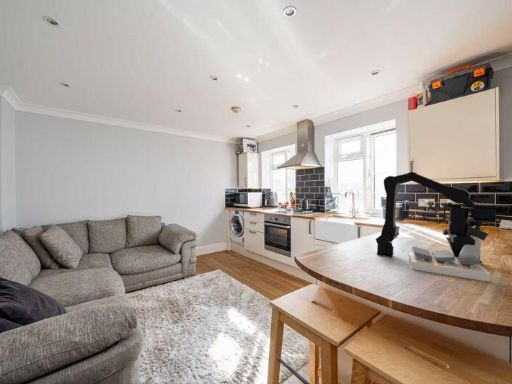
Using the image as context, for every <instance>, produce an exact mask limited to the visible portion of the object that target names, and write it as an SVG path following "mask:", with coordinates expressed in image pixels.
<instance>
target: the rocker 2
mask: <svg viewBox="0 0 512 384" xmlns="http://www.w3.org/2000/svg"><path fill="white" fill-rule="evenodd" d="M430 253H431V255H432V256H434V258H435V259H436V261H456V258H455V257H454V254H453V253H452V251H450V250H448V249H447V250H446V249H445V250H444V249H443V250H441V249H440V250H431V252H430Z"/></svg>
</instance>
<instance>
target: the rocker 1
mask: <svg viewBox="0 0 512 384" xmlns="http://www.w3.org/2000/svg"><path fill="white" fill-rule="evenodd" d="M411 250H412V253H414V255H416V256H419V257H423V258H426V259H430V260H432V258H433V257H432V256H433V255H432V252H430V251H429V250H428V249H425V248H422V247H417V246H413V245H412V248H411Z"/></svg>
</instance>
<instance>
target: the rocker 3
mask: <svg viewBox="0 0 512 384" xmlns="http://www.w3.org/2000/svg"><path fill="white" fill-rule="evenodd" d="M453 256H454V255H453ZM454 257H455V256H454ZM455 259H457V260H458V261H459V262H460V263H461V264H474V265H480V266H482V265H483V261H482V260H481V258H480V259H479V258H477V257H476V256H475V255H473V254H472V253H461V252H460V254H459V256H458V257H455Z"/></svg>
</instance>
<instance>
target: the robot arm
mask: <svg viewBox="0 0 512 384" xmlns="http://www.w3.org/2000/svg"><path fill="white" fill-rule="evenodd" d="M410 182H414V183H416V184H417V185H418V184H419V185H421V186H423V187H425V188H428V189H431V190H432V191H435V192H437V193H439V194H441V195H442V196H444V197H445V198H447V199H449V200H450V201H452V202H453V203H452V202H450V201H449V202H448V203H447V204H445V205H444V206H443V207H444V208H448V209H449V219H448V220H447V223H448V228H445V229H443V230H442V235H443V236H448V237H445V239H446V241H447V242H448V244H449V247H450V249H451V253H452V255H453V256H455V257H458V256H459V254H460V253H461V250H462V248H463V246H464V245H475V240H474V239H473V238H472V237H470V236H471V235H472V236H474V237H477V238H480V239H481V241H485V240H486V239H487V237H488V235H489V233H488V232H486V231H484V230H482V227H481V228H480V227H477V226H473V227H471V224H470V223H468V219H469V214H470V219H475V221H480V222H481V223H490V224H496V221H497V213H496V212H497V208H496V207H497V206H496V205H495V204H476V203H475V201H473V200H472V199H471V195H470V192H469V191H468V190H465V189H463V188H459V187H454V186H450V185H446V184H443V183H441V182H438V181H435V180H433V179H430V178H428V177H426V176H423V175H421V174H419V173H418V172H414V171H410V172H409V171H408V172H407V173H403V174H400V175H399V174H398V175H395V176H393V175H388V176H386V177H385V178H384V179H383V187H384V191H385V195H386V197H385V214H384V215H385V216H384V218H385V219H384V224H383V226H382V228H381V233H380V235H379V236H377V238H375V240H376V241H375V242H376V244H377V245H376V247H377V250H376V251H377V252H376V255H377V256H382V257H389V258H393V256H394V245H393V241H394V240H395V239H397V238H398V236H400V231H399V230H400V226H397V225H396V213H397V212H396V210H397V208H396V207H397V194H398V192H399V191H400V190H399V189H400V187H401V184H405V183H410ZM454 203H455V204H454ZM463 205H464V206H463ZM465 206H466V207H465ZM470 210H471V211H470ZM469 212H470V213H469Z"/></svg>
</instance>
